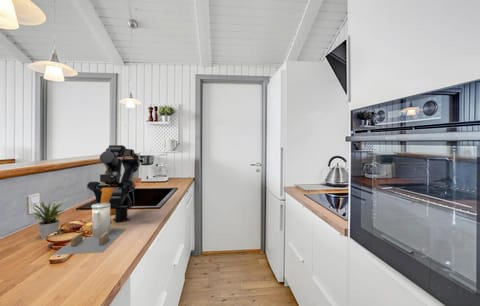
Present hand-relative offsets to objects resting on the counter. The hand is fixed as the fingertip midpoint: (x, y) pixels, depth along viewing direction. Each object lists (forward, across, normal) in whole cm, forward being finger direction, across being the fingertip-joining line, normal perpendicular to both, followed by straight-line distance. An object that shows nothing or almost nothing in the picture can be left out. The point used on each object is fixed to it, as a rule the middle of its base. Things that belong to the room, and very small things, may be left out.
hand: (109, 204), depth 107 cm
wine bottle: (-1, -11, +31) cm, 33 cm away
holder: (+16, -1, -8) cm, 18 cm away
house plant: (+12, -23, 0) cm, 26 cm away
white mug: (+12, -1, -2) cm, 12 cm away
